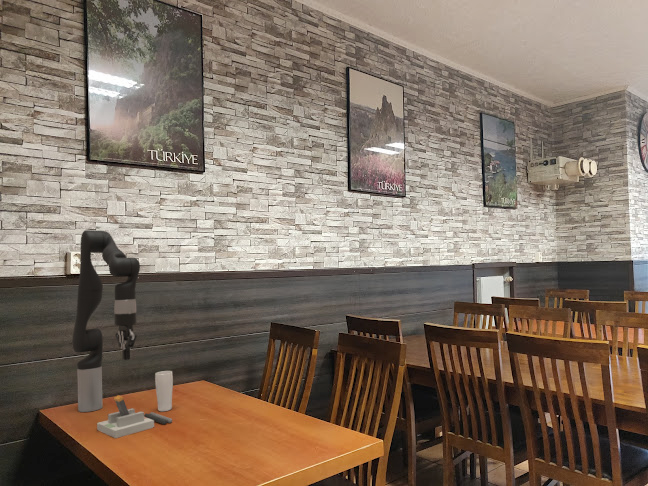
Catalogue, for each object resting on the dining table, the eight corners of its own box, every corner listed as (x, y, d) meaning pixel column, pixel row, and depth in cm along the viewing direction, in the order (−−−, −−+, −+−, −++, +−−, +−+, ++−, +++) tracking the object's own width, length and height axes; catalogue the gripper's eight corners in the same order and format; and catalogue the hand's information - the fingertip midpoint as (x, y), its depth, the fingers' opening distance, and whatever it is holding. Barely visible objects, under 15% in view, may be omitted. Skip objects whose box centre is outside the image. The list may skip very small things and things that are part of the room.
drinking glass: (168, 412, 195) (167, 374, 196) (152, 412, 196) (151, 374, 197) (176, 407, 201) (175, 370, 202) (161, 407, 203) (160, 370, 204)
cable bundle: (143, 418, 189) (143, 413, 189) (152, 415, 191) (152, 411, 191) (163, 425, 178) (163, 420, 178) (173, 422, 181) (172, 418, 181)
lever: (121, 419, 177) (112, 397, 176) (125, 416, 179) (117, 395, 177) (127, 421, 174) (118, 399, 172) (132, 418, 175) (123, 396, 174)
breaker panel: (97, 429, 176) (96, 414, 177) (134, 420, 186) (134, 405, 187) (115, 438, 166) (115, 421, 166) (154, 427, 176) (153, 411, 176)
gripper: (107, 312, 182) (108, 359, 181) (123, 313, 173) (124, 363, 172) (127, 310, 187) (128, 356, 187) (143, 311, 178) (144, 359, 177)
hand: (126, 359), depth 179 cm, fingers closed
